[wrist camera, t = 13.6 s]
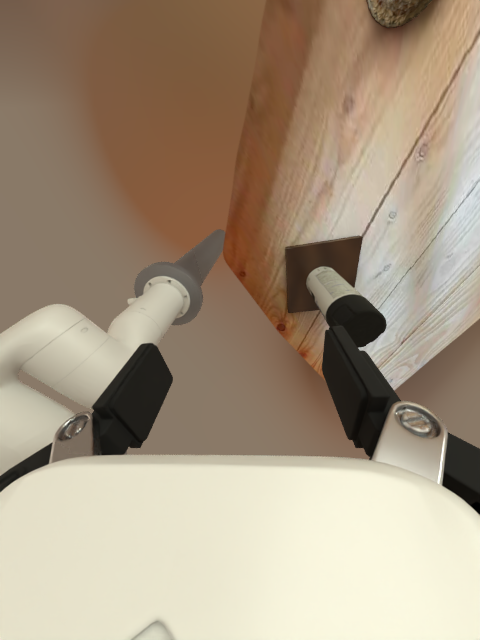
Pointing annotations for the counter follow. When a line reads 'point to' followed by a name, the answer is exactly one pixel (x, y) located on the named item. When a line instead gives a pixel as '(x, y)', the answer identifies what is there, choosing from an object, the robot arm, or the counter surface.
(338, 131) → the counter surface
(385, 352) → the counter surface
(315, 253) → the chopping board
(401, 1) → the cake
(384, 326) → the spray can
